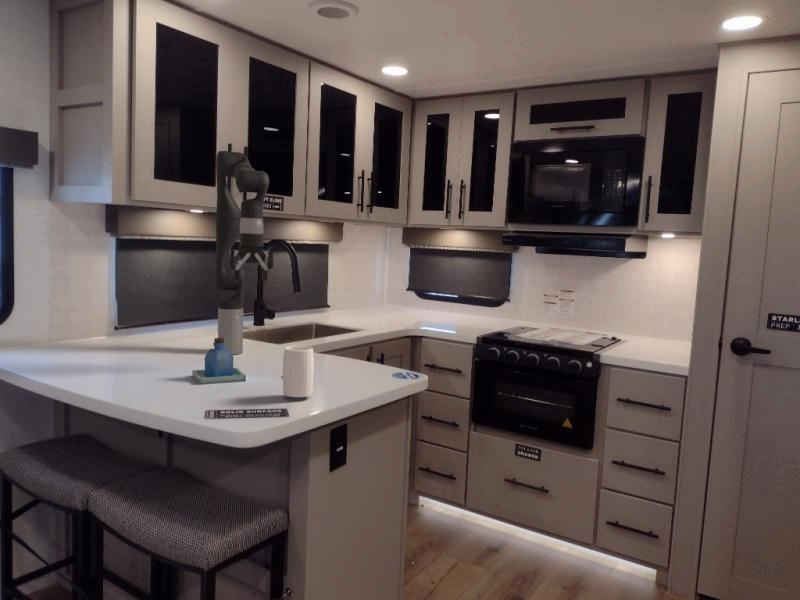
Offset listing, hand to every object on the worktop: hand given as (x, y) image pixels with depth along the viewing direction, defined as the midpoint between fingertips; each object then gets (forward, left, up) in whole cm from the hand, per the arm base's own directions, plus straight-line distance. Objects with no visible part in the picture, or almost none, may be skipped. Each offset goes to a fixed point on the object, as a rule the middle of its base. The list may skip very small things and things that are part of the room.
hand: (250, 281), depth 198 cm
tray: (+9, -12, -30) cm, 33 cm away
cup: (+39, +4, -30) cm, 49 cm away
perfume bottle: (+9, -12, -29) cm, 33 cm away
